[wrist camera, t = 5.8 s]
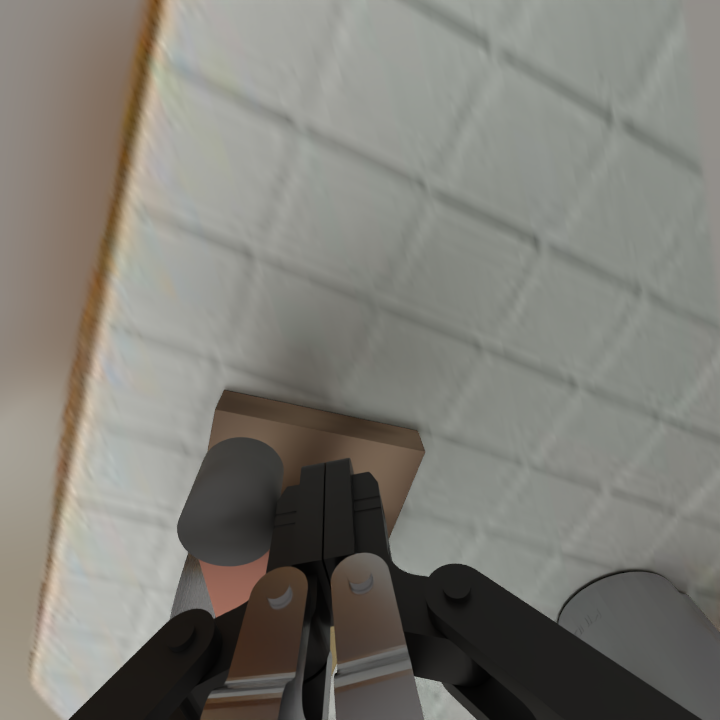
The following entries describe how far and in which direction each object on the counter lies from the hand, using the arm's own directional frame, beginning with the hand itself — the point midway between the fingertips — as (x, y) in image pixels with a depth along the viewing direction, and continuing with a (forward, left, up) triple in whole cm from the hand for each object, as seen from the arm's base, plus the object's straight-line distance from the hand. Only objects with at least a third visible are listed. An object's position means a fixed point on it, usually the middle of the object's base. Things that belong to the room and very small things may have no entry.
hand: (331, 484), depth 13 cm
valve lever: (+1, +6, -1) cm, 6 cm away
